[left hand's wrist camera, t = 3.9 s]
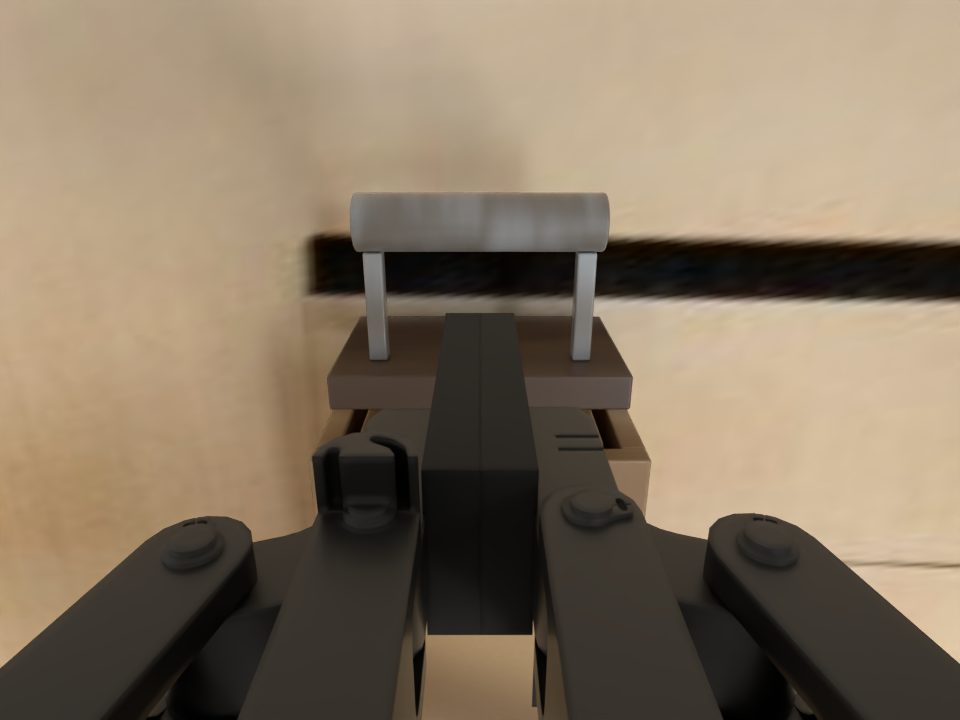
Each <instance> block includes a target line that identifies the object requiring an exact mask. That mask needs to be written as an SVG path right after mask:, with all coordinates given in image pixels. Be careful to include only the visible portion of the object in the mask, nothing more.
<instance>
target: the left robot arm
mask: <svg viewBox="0 0 960 720" xmlns="http://www.w3.org/2000/svg"><path fill="white" fill-rule="evenodd" d="M312 463H313V472H314V481H315V490H316V499H317V508H318V513H317V516H316V519H315V521H314V524H313V526H312V527H309V528H307V529H305V530H303V531H300V532H297V533H294V534H290V535H286V536H283V537H278V538H273V539H268V540H263V541H258V542H253V541H252V535H251V531H250V530H249V529H248V528H247V527H246V525H245V524H244V523H243V522H241V521H238V520H235V519H232V518H229V517H218V516H205V517H198V518H193V519H189V520H185V521H182V522H180V523H177V524H175V525H172V526H170V527H167V528H165V529H163V530H161V531H160V532H158V533H157V534H155V535H154V536H153V537H151V538H150V539H148V540H147V541H145V542H144V543H143V544H142V545H141V546H140V547H138V548H137V549H136V550H135V551H134V552H133V553H132V554H130V555H129V556H128V557H127V558H126V559H125V560H124V561H122V562H121V563H120V564H119V565H118V566H117V567H116V568H114V569H113V570H112V571H111V572H110V573H109V574H108V575H106V576H105V577H104V578H103V579H102V580H101V581H100V582H98V583H97V584H96V585H95V586H94V587H93V588H92V589H91V590H89V591H88V592H87V593H86V594H85V595H84V596H83V597H81V598H80V599H79V600H78V601H77V602H76V603H75V604H73V605H72V606H71V607H70V608H69V609H68V610H67V611H65V612H64V613H63V614H62V615H61V616H60V617H59V618H57V619H56V620H55V621H54V622H53V623H52V624H51V625H49V626H48V627H47V628H46V629H45V630H44V631H43V632H41V633H40V634H39V635H38V636H37V637H36V638H35V639H33V640H32V641H31V642H30V643H29V644H28V645H27V646H25V647H24V648H23V649H22V650H21V651H20V652H19V653H17V654H16V655H15V656H14V657H13V658H12V659H11V660H9V661H8V662H7V663H6V664H5V665H4V666H3V667H1V668H0V720H422V710H423V699H424V688H425V677H426V666H427V665H426V640H425V636H426V627H427V635H533V623H534V633H535V640H534V665H533V689H532V707H537V710H538V720H960V664H959V663H958V662H957V661H956V660H955V659H954V658H952V657H951V656H950V655H949V654H948V653H947V652H946V651H944V650H943V649H942V648H941V647H940V646H939V645H937V644H936V643H935V642H934V641H933V640H932V639H931V638H929V637H928V636H927V635H926V634H925V633H924V632H922V631H921V630H920V629H919V628H918V627H917V626H916V625H914V624H913V623H912V622H911V621H910V620H909V619H908V618H906V617H905V616H904V615H903V614H902V613H901V612H899V611H898V610H897V609H896V608H895V607H894V606H893V605H891V604H890V603H889V602H888V601H887V600H886V599H884V598H883V597H882V596H881V595H880V594H879V593H878V592H876V591H875V590H874V589H873V588H872V587H871V586H870V585H868V584H867V583H866V582H865V581H864V580H863V579H861V578H860V577H859V576H858V575H857V574H856V573H855V572H853V571H852V570H851V569H850V568H849V567H848V566H846V565H845V564H844V563H843V562H842V561H841V560H840V559H838V558H837V557H836V556H835V555H834V554H833V553H832V552H830V551H829V550H828V549H827V548H826V547H825V546H823V545H822V544H821V543H820V542H819V541H818V540H817V539H815V538H814V537H813V536H811V535H810V534H808V533H807V532H805V531H804V530H802V529H801V528H799V527H798V526H796V525H793V524H791V523H788V522H786V521H783V520H781V519H778V518H776V517H772V516H768V515H766V516H765V515H762V514H754V513H747V514H732V515H729V516H726V517H723V518H720V519H718V520H717V521H716V522H715V523H714V524H713V525H712V526H711V527H710V529H709V535H708V540H706V539H701V538H696V537H691V536H686V535H681V534H676V533H673V532H669V531H666V530H662V529H659V528H657V527H655V526H652V525H650V524H648V523H646V520H645V518H644V515H643V512H642V511H641V509H640V508H639V507H638V505H637V504H636V502H635V501H634V500H633V499H631V498H630V497H628V496H627V495H625V494H623V493H622V492H620V491H619V490H618V487H617V484H616V481H615V479H614V476H613V473H612V470H611V467H610V465H609V462H608V459H607V456H606V453H605V451H603V445H602V442H601V439H600V438H599V434H598V431H597V428H596V425H595V423H594V420H593V419H592V418H591V417H590V416H588V415H587V414H586V413H585V412H583V411H582V410H581V409H580V408H578V407H529V405H528V398H527V392H526V386H525V380H524V373H523V367H522V361H521V355H520V348H519V342H518V336H517V330H516V323H515V317H514V313H446V317H445V323H444V330H443V336H442V342H441V348H440V355H439V361H438V367H437V373H436V380H435V386H434V392H433V398H432V405H431V409H382V410H380V411H379V412H378V413H377V414H376V415H374V416H373V417H372V418H371V419H369V420H368V421H367V422H366V425H365V428H364V431H363V432H359V433H352V434H348V435H345V436H341V437H338V438H335V439H333V440H331V441H329V442H327V443H326V444H324V445H322V446H320V447H319V449H318V450H317V451H316V452H315V453H314V454H313V456H312Z"/></svg>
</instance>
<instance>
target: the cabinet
mask: <svg viewBox="0 0 960 720" xmlns="http://www.w3.org/2000/svg"><path fill="white" fill-rule="evenodd" d="M368 410H369V409H333V411H332V414H331V416H330V418H329V420H328V422H327V424H326V426H325V428H324V430H323V432H322V435H321V437H320V439H319V441H318V443H317V445H316V447H315V450H314V451H313V453H312V455H311V457H310V459H309V469H310V478H311V487H312V496H313V505H314V514H315V519H316V516H317V513H318V508H317V499H316V490H315V481H314V472H313V463H312V456H313V454H314V453H315V452H316V451H317V450H318V449H319V447H320V446H322V445H324V444H326V443H327V442H329V441H331V440H333V439H335V438H338V437H341V436H345V435H348V434H352V433H359V432H361V430H362V427H363V424H364V421H365V419H366V416H367V413H368ZM591 411H592V414H593V417H594V420H595V422H596V425H597V428H598V431H599V434H600V436H601V439H602V442H603V451H605V453H606V456H607V459H608V462H609V465H610V467H611V470H612V473H613V476H614V479H615V481H616V484H617V487H618V490H619V491H620V492H622V493H623V494H625V495H627V496H628V497H630V498H631V499H633V500H634V501H635V502H636V504H637V505H638V507H639V508H640V509H641V511H642V512H643V515H644V518H645V512H646V503H647V495H648V486H649V477H650V468H651V460H650V458H649V456H648V453H647V451H646V450H645V447H644V445H643V443H642V440H641V438H640V436H639V434H638V432H637V430H636V428H635V426H634V424H633V422H632V419H631V417H630V415H629V413H628V411H627V409H591ZM425 640H426V665H427V666H426V677H425V688H424V699H423V710H422V720H538V710H537V707H532V689H533V665H534V640H535V633H534V623H533V635H427V627H426V636H425Z"/></svg>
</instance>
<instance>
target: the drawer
mask: <svg viewBox="0 0 960 720" xmlns="http://www.w3.org/2000/svg"><path fill="white" fill-rule="evenodd" d="M609 225H610V209H609V201H608V197H607V194H605V193H354V194H353V196H352V200H351V206H350V228H351V237H352V242H353V246H354V248H355V250H356V251H358V252H364V253H363V266H364V281H365V295H366V310H367V317H360V319H359V320H358V322H357V324H356V326H355V328H354V329H353V331H352V333H351V335H350V337H349V338H348V340H347V342H346V344H345V346H344V347H343V349H342V351H341V353H340V355H339V356H338V358H337V360H336V362H335V363H334V365H333V367H332V369H331V371H330V372H329V374H328V376H327V383H328V393H329V404H330V408H331V409H369V410H368V413H367V416H366V419H365V421H364V424H363V427H362V430H361V432H363V431H364V428H365V425H366V422H367V421H368V420H369V419H371V418H372V417H373V416H374V415H376V414H377V413H378V412H379V411H380V410H382V409H431V405H432V398H433V392H434V386H435V380H436V373H437V367H438V361H439V355H440V348H441V342H442V336H443V330H444V323H445V317H388V315H387V297H386V279H385V261H384V252H576V258H575V276H574V294H573V312H572V317H515V323H516V330H517V336H518V342H519V348H520V355H521V361H522V367H523V373H524V380H525V386H526V392H527V398H528V405H529V407H578V408H580V409H581V410H582V411H583V412H585V413H586V414H587V415H588V416H590V417H591V418H592V419H593V420H594V417H593V414H592V411H591V409H629V408H630V402H631V391H632V381H633V377H632V375H631V373H630V371H629V369H628V367H627V366H626V364H625V362H624V360H623V358H622V357H621V355H620V353H619V351H618V349H617V348H616V346H615V344H614V342H613V340H612V339H611V337H610V335H609V333H608V331H607V330H606V328H605V326H604V324H603V322H602V321H601V319H600V317H593V308H594V293H595V278H596V263H597V253H596V252H602V251H604V250H605V248H606V245H607V241H608V235H609ZM594 423H595V425H596V422H595V420H594ZM596 428H597V425H596ZM597 431H598V428H597ZM598 434H599V431H598ZM599 438H600V439H601V436H600V434H599ZM601 442H602V439H601ZM602 445H603V442H602Z"/></svg>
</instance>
